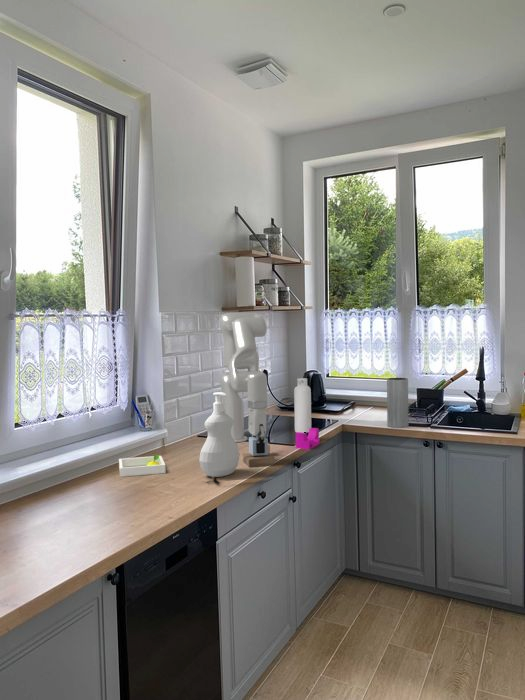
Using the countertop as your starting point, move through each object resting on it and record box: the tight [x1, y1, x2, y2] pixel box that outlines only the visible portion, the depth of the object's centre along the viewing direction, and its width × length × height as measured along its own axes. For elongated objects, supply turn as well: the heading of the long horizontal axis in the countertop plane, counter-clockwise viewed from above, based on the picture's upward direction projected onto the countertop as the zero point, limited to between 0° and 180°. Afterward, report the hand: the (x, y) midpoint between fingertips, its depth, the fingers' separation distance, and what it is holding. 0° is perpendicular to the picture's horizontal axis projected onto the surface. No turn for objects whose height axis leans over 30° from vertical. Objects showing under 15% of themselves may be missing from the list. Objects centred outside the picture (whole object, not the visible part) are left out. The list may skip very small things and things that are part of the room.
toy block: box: [295, 427, 321, 450], centre depth 242 cm, size 15×6×8 cm, turn 149°
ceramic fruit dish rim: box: [118, 455, 166, 478], centre depth 208 cm, size 16×16×3 cm
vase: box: [386, 377, 410, 429], centre depth 270 cm, size 10×10×27 cm
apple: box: [146, 454, 160, 466], centre depth 212 cm, size 7×6×9 cm
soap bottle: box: [198, 391, 241, 478], centre depth 199 cm, size 17×12×29 cm
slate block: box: [248, 436, 269, 456], centre depth 215 cm, size 6×6×6 cm
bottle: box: [293, 377, 312, 433], centre depth 268 cm, size 8×8×28 cm
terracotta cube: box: [268, 443, 271, 454], centre depth 228 cm, size 5×5×5 cm
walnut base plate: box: [242, 452, 276, 468], centre depth 215 cm, size 10×10×3 cm
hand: (258, 450), depth 215 cm, fingers closed on slate block, 5 cm apart
